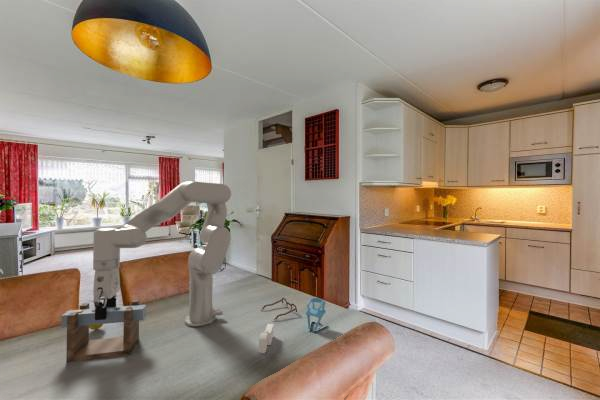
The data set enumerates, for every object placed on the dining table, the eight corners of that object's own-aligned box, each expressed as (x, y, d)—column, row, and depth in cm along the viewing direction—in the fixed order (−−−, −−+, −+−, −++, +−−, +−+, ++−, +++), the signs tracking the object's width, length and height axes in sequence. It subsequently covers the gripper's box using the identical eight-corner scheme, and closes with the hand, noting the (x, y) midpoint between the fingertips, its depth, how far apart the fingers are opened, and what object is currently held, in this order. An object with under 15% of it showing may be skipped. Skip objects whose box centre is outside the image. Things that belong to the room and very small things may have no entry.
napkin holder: (269, 332, 109) (269, 318, 109) (289, 343, 101) (290, 328, 101) (238, 348, 97) (239, 332, 97) (259, 361, 90) (259, 344, 90)
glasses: (297, 315, 125) (298, 305, 125) (273, 322, 117) (273, 311, 117) (283, 306, 136) (283, 296, 136) (259, 311, 128) (260, 301, 128)
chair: (302, 330, 111) (303, 301, 111) (311, 321, 118) (312, 294, 118) (320, 334, 107) (320, 305, 107) (327, 326, 115) (328, 298, 114)
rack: (138, 339, 101) (139, 299, 101) (129, 354, 91) (130, 310, 91) (82, 345, 96) (82, 303, 96) (66, 362, 86) (67, 315, 86)
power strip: (146, 315, 99) (146, 303, 99) (142, 320, 95) (143, 307, 95) (68, 322, 92) (68, 309, 92) (61, 327, 88) (61, 314, 88)
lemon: (95, 334, 103) (95, 313, 103) (83, 332, 104) (83, 312, 104) (108, 327, 109) (108, 308, 108) (96, 326, 110) (97, 306, 110)
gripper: (108, 270, 86) (108, 324, 86) (127, 257, 102) (126, 303, 103) (81, 271, 84) (80, 327, 84) (104, 258, 100) (104, 305, 101)
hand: (105, 313), depth 93 cm, fingers open, 7 cm apart
